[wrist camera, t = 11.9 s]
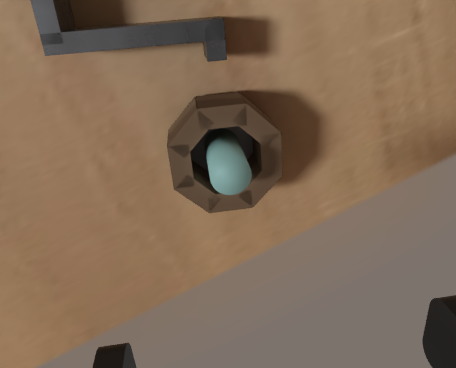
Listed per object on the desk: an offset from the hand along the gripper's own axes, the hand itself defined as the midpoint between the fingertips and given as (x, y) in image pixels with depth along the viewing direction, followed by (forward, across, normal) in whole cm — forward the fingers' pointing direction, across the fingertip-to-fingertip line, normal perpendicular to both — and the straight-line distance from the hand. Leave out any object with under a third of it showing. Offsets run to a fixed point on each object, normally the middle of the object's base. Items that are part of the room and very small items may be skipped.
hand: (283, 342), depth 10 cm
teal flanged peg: (+17, 0, 0) cm, 17 cm away
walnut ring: (+16, 0, 0) cm, 16 cm away
